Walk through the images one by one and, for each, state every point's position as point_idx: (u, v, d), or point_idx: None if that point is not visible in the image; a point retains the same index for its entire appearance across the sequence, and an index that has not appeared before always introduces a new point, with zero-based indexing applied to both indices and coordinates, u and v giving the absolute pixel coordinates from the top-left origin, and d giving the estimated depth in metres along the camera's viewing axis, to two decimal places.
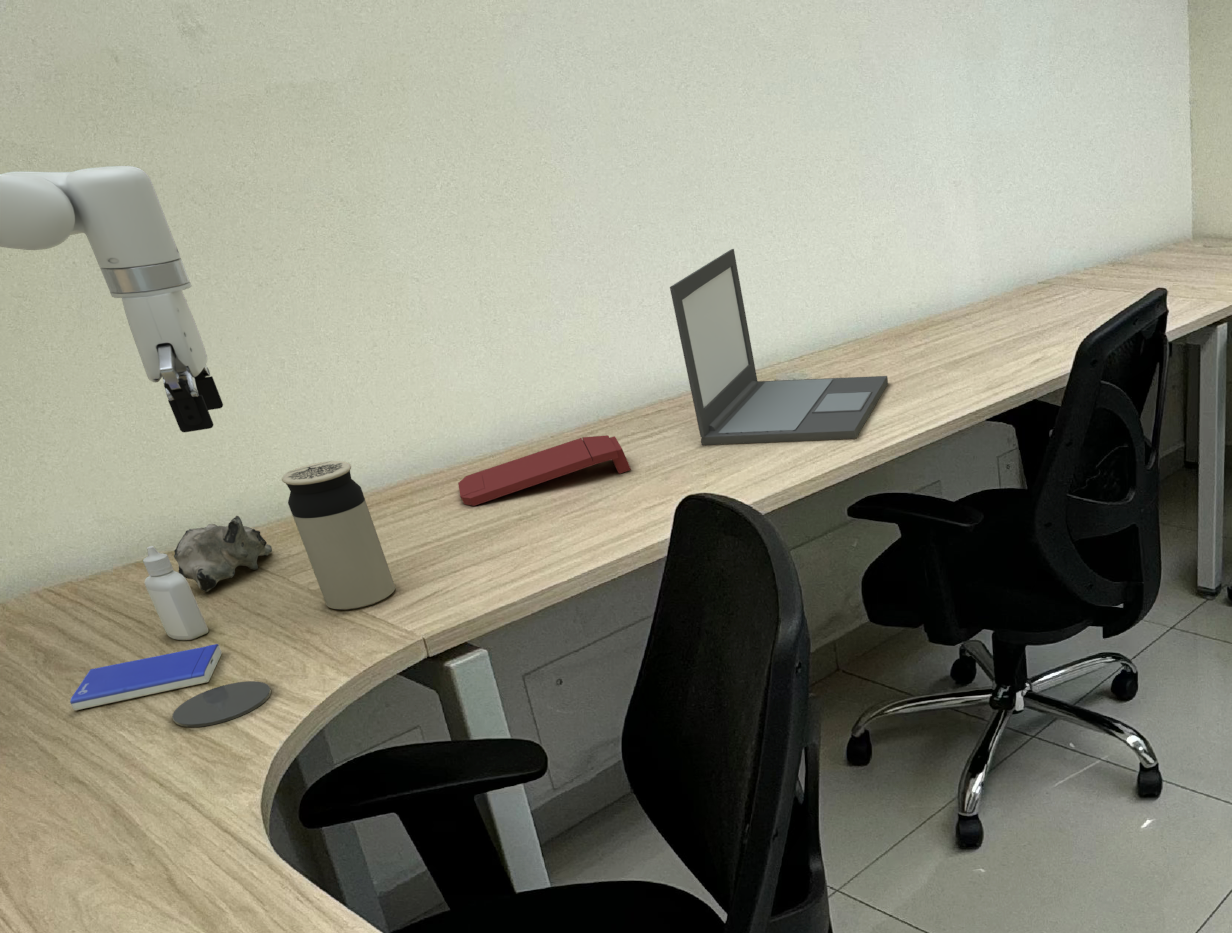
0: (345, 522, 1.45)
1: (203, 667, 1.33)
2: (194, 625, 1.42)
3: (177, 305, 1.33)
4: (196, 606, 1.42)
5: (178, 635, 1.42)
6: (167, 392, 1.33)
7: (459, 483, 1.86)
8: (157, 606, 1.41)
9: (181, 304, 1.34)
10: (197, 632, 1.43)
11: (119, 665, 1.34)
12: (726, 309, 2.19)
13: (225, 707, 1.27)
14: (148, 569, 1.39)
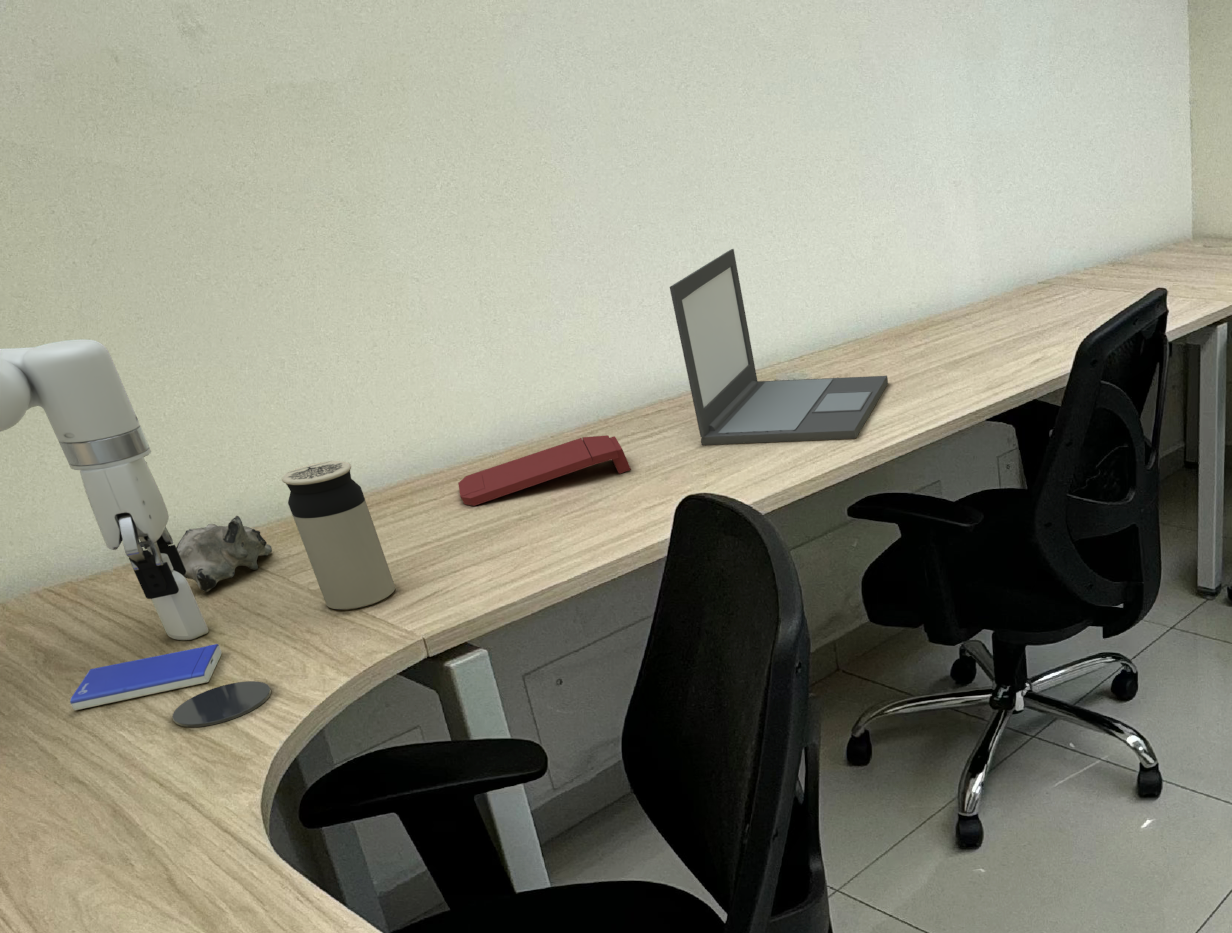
0: (345, 522, 1.45)
1: (203, 667, 1.33)
2: (194, 625, 1.42)
3: (136, 474, 1.34)
4: (196, 606, 1.42)
5: (178, 635, 1.42)
6: (133, 565, 1.35)
7: (459, 483, 1.86)
8: (157, 606, 1.41)
9: (140, 471, 1.35)
10: (197, 632, 1.43)
11: (119, 665, 1.34)
12: (726, 309, 2.19)
13: (225, 707, 1.27)
14: None
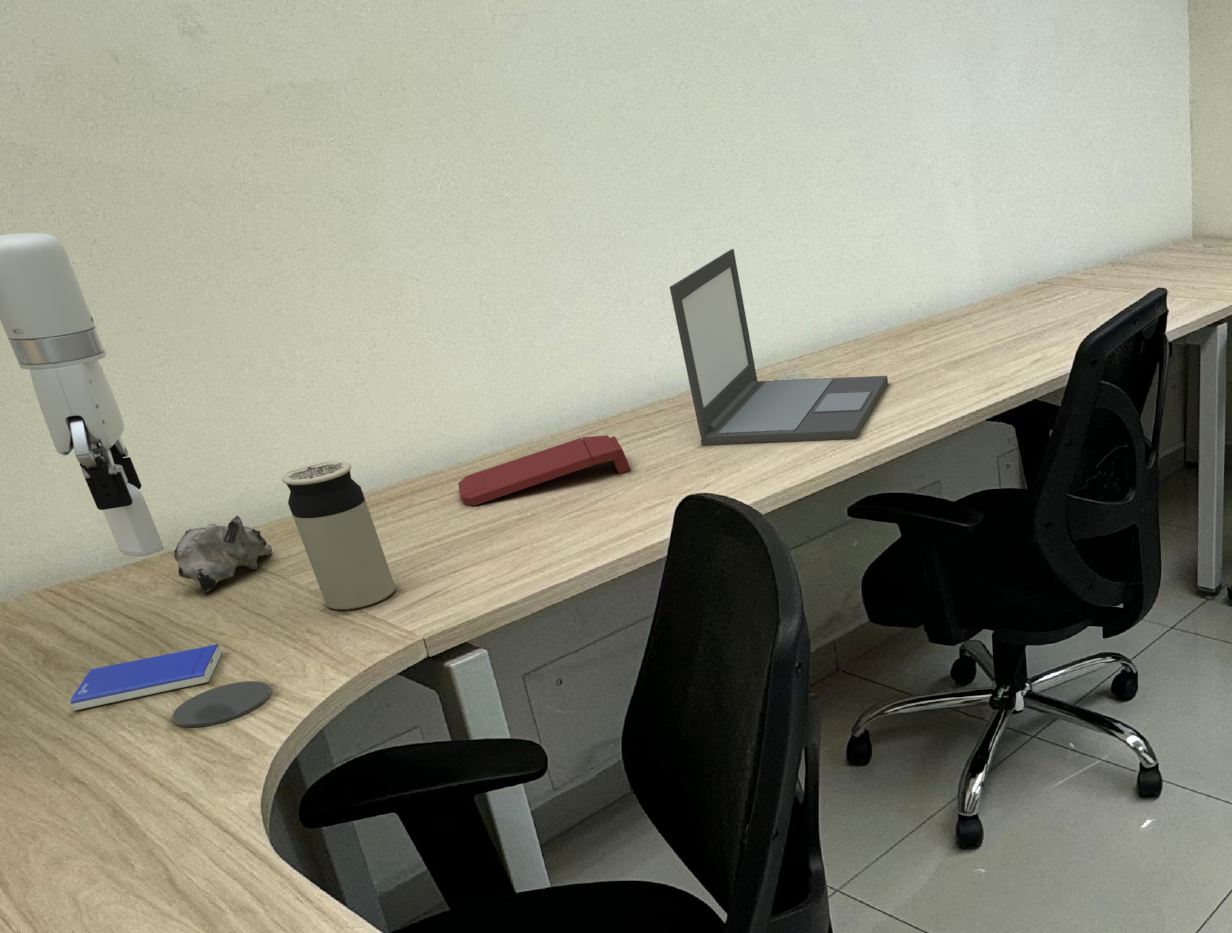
0: (345, 522, 1.45)
1: (203, 667, 1.33)
2: (149, 541, 1.37)
3: (89, 376, 1.28)
4: (151, 521, 1.37)
5: (131, 551, 1.36)
6: (84, 472, 1.30)
7: (459, 483, 1.86)
8: (110, 520, 1.35)
9: (94, 374, 1.29)
10: (151, 548, 1.37)
11: (119, 665, 1.34)
12: (726, 309, 2.19)
13: (225, 707, 1.27)
14: None
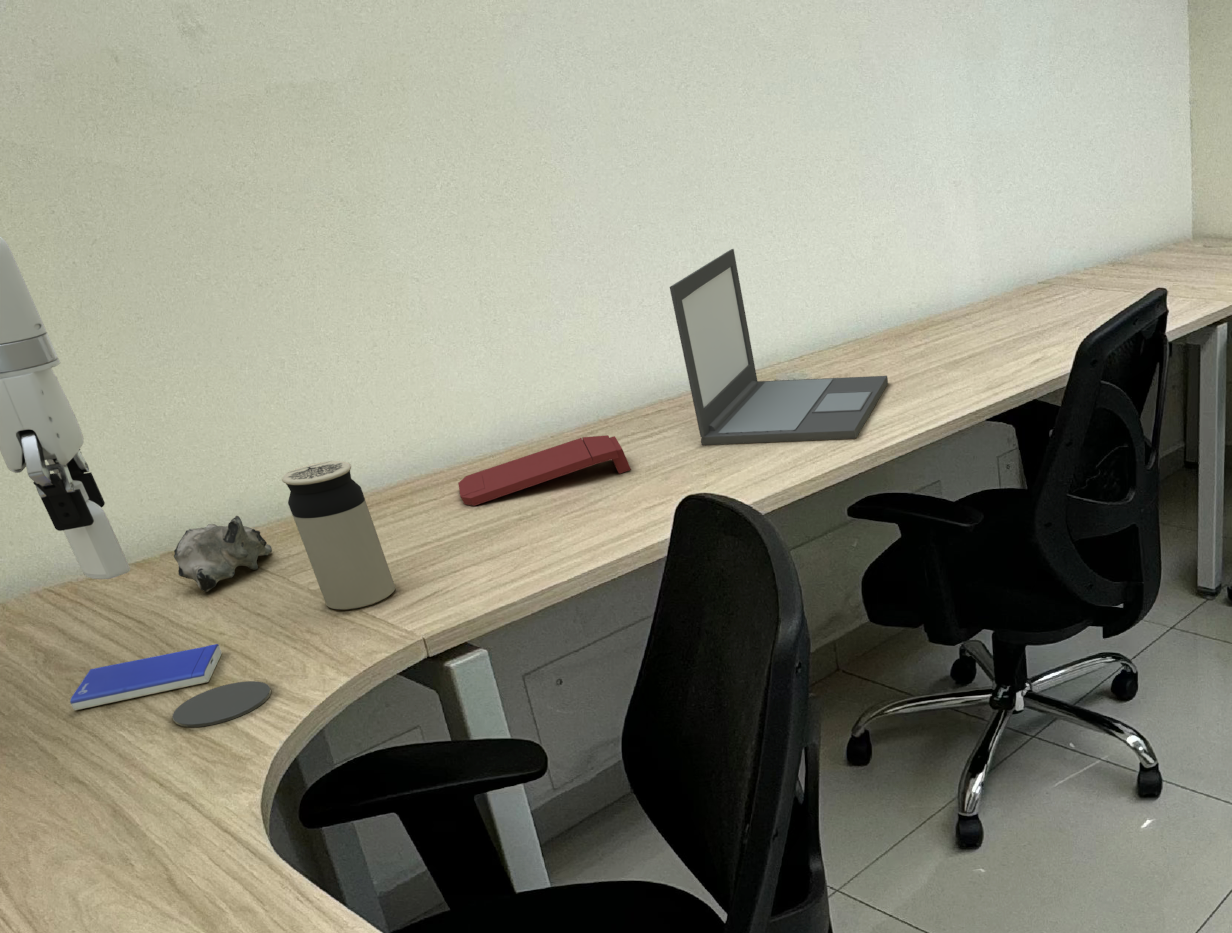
0: (345, 522, 1.45)
1: (203, 667, 1.33)
2: (113, 562, 1.27)
3: (41, 387, 1.18)
4: (115, 541, 1.27)
5: (95, 574, 1.27)
6: (39, 490, 1.20)
7: (459, 483, 1.86)
8: (71, 541, 1.25)
9: (47, 384, 1.19)
10: (116, 570, 1.27)
11: (119, 665, 1.34)
12: (726, 309, 2.19)
13: (225, 707, 1.27)
14: None
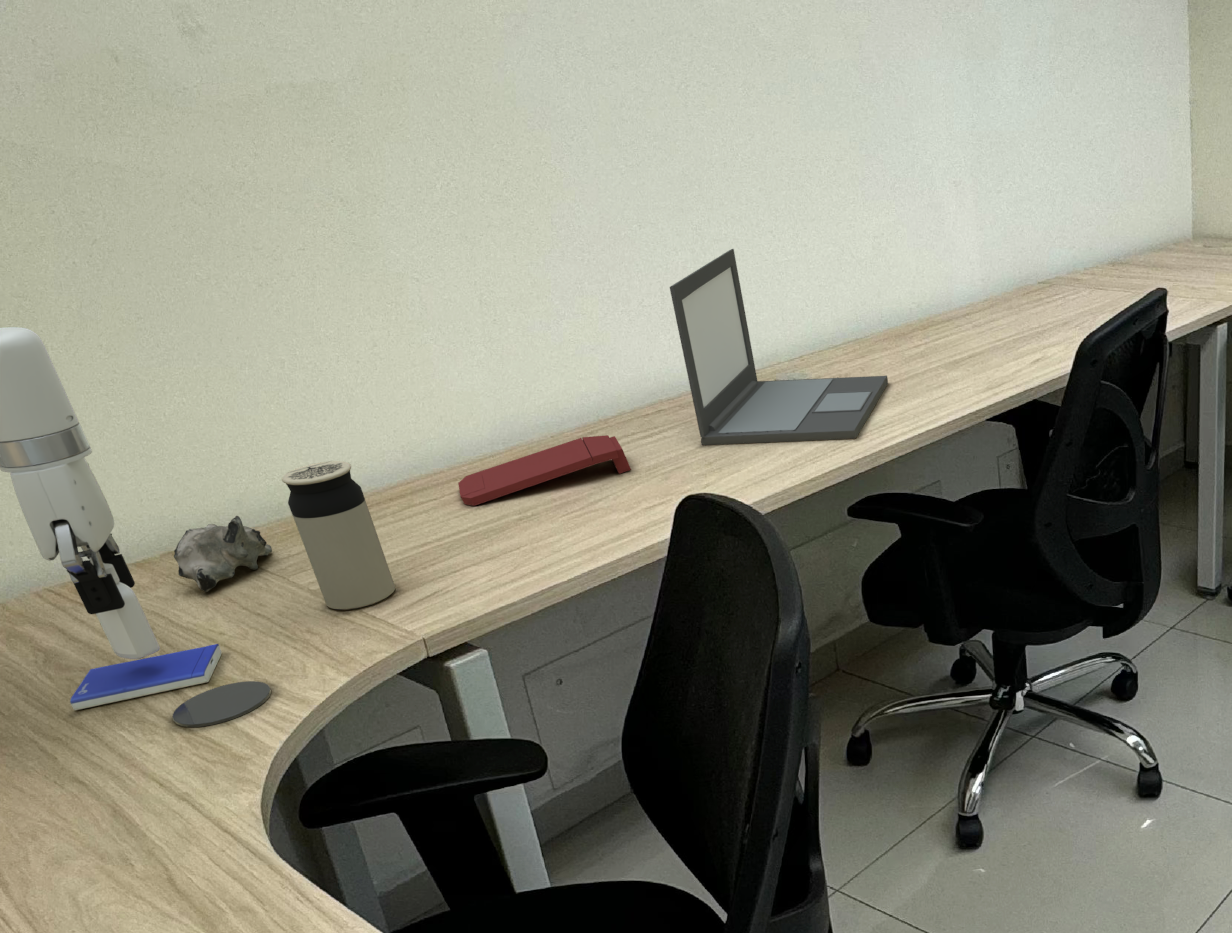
0: (345, 522, 1.45)
1: (203, 667, 1.33)
2: (144, 642, 1.29)
3: (74, 477, 1.21)
4: (145, 621, 1.29)
5: (126, 654, 1.29)
6: (72, 577, 1.23)
7: (459, 483, 1.86)
8: (102, 622, 1.28)
9: (79, 473, 1.22)
10: (147, 650, 1.30)
11: (119, 665, 1.34)
12: (726, 309, 2.19)
13: (225, 707, 1.27)
14: None
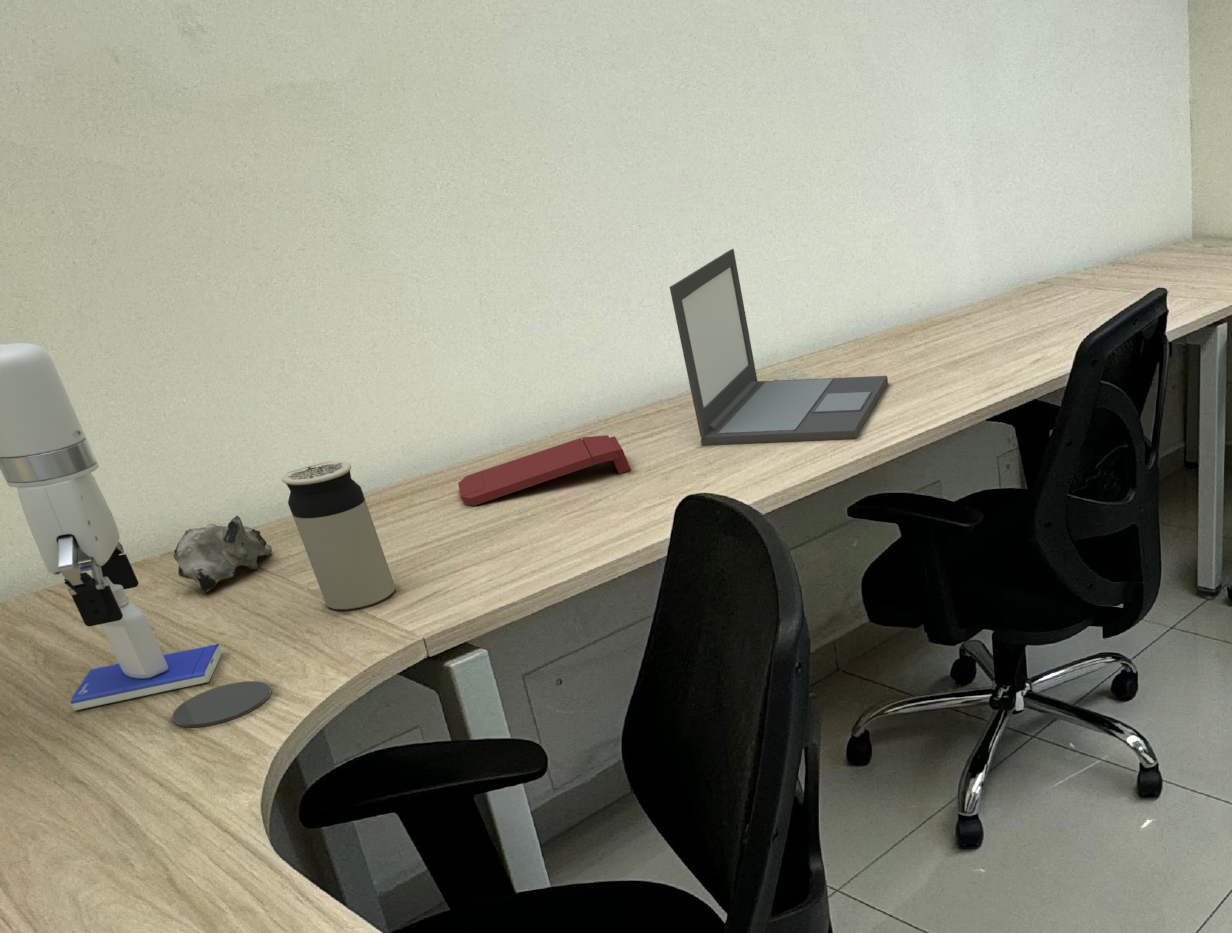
0: (345, 522, 1.45)
1: (203, 667, 1.33)
2: (152, 662, 1.31)
3: (80, 492, 1.21)
4: (154, 642, 1.30)
5: (134, 674, 1.30)
6: (69, 587, 1.21)
7: (459, 483, 1.86)
8: (111, 642, 1.29)
9: (86, 488, 1.23)
10: (155, 670, 1.31)
11: (119, 665, 1.34)
12: (726, 309, 2.19)
13: (225, 707, 1.27)
14: None
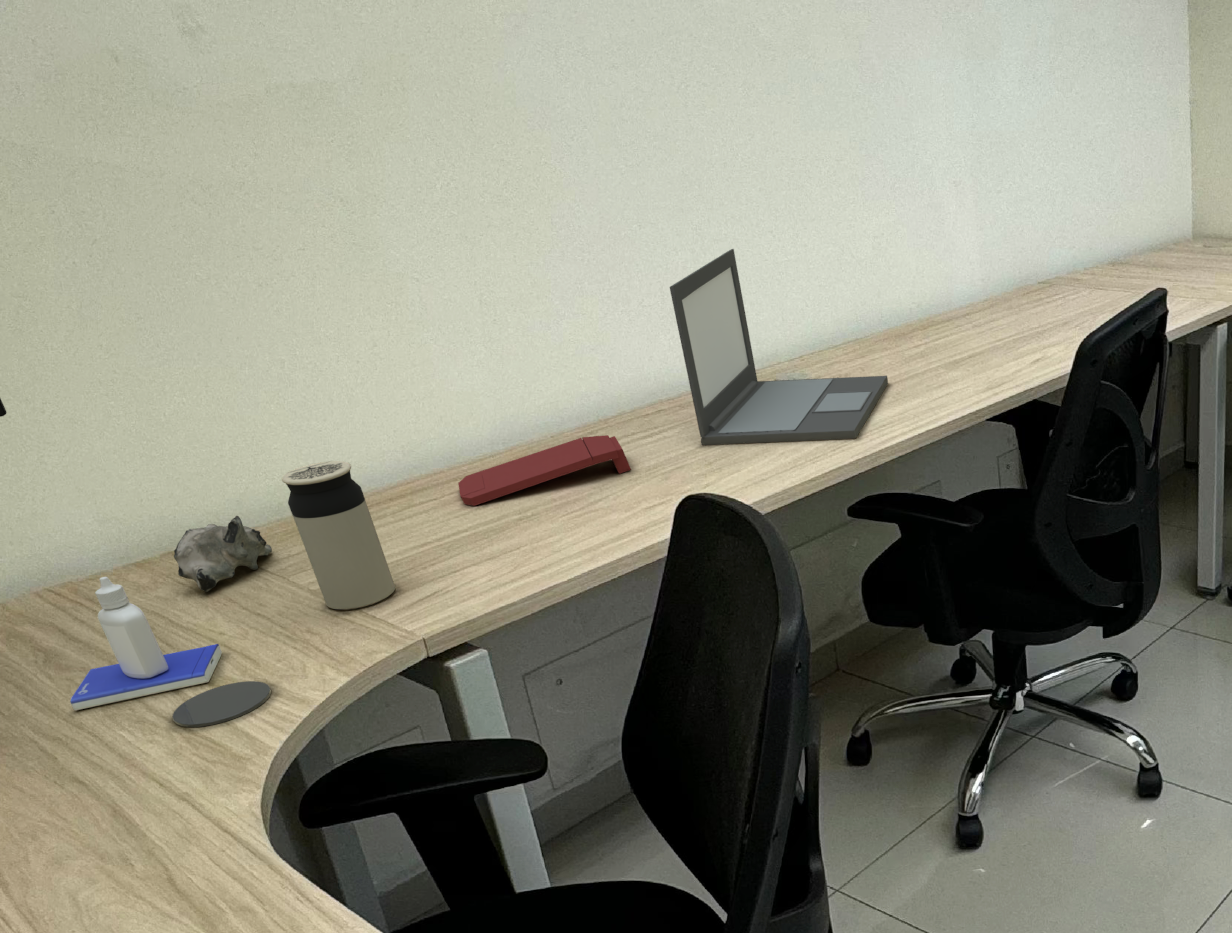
0: (345, 522, 1.45)
1: (203, 667, 1.33)
2: (152, 662, 1.31)
3: None
4: (154, 642, 1.30)
5: (134, 674, 1.30)
6: None
7: (459, 483, 1.86)
8: (111, 642, 1.29)
9: None
10: (155, 670, 1.31)
11: (119, 665, 1.34)
12: (726, 309, 2.19)
13: (225, 707, 1.27)
14: (101, 602, 1.27)
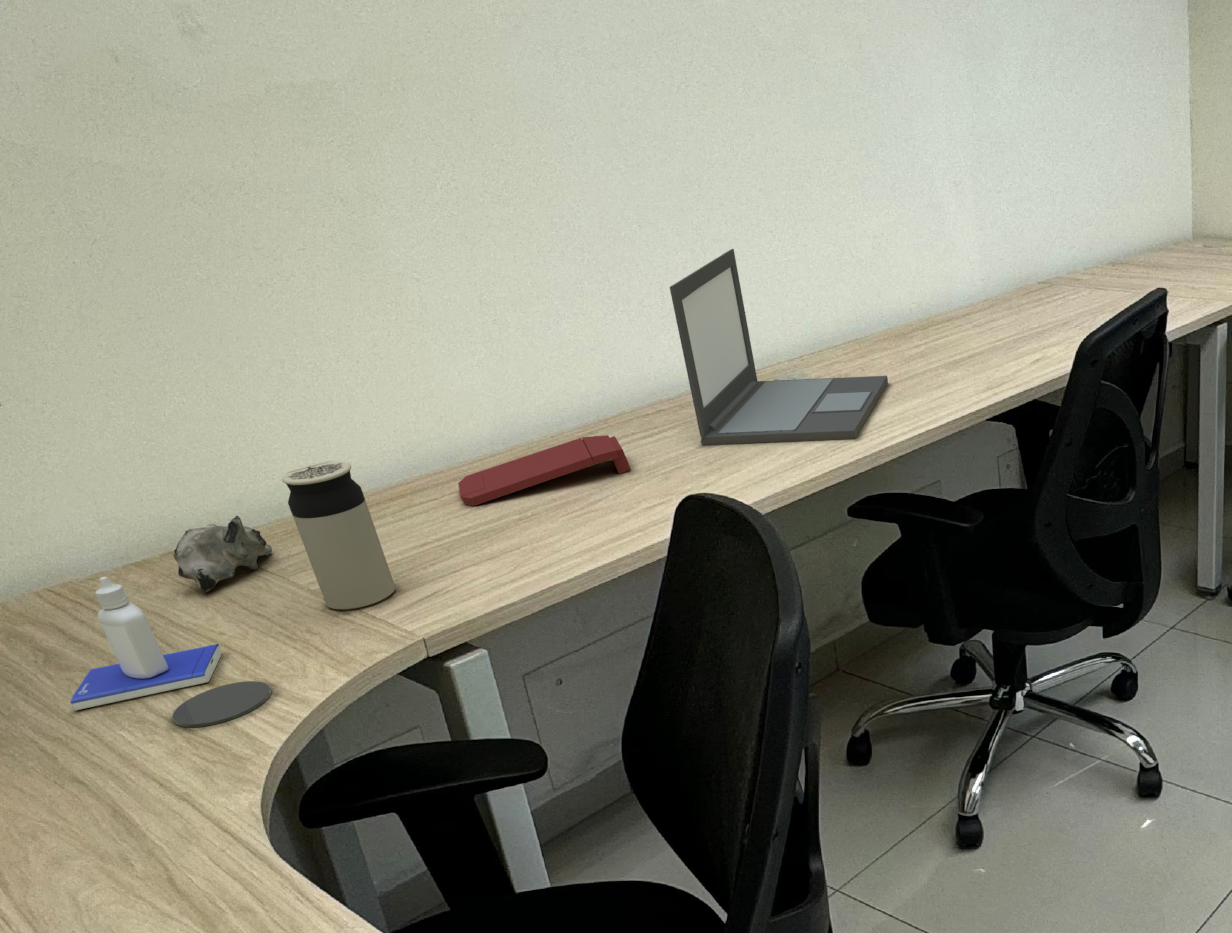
0: (345, 522, 1.45)
1: (203, 667, 1.33)
2: (152, 662, 1.31)
3: None
4: (154, 642, 1.30)
5: (134, 674, 1.30)
6: None
7: (459, 483, 1.86)
8: (111, 642, 1.29)
9: None
10: (155, 670, 1.31)
11: (119, 665, 1.34)
12: (726, 309, 2.19)
13: (225, 707, 1.27)
14: (101, 602, 1.27)
